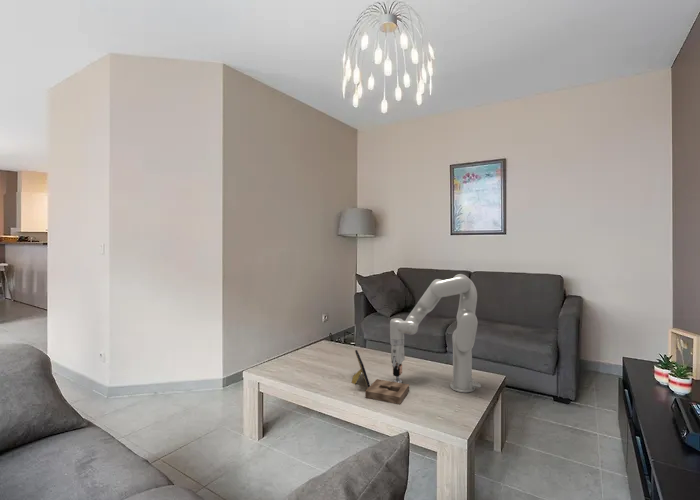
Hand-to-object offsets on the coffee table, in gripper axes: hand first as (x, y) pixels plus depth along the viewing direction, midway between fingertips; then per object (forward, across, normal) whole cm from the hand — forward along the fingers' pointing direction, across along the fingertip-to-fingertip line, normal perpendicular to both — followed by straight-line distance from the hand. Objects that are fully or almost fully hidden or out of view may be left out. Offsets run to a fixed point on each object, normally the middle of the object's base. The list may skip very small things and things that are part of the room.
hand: (397, 374), depth 192 cm
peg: (+5, 0, 0) cm, 5 cm away
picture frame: (+5, -8, +19) cm, 22 cm away
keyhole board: (+5, -15, 0) cm, 16 cm away
